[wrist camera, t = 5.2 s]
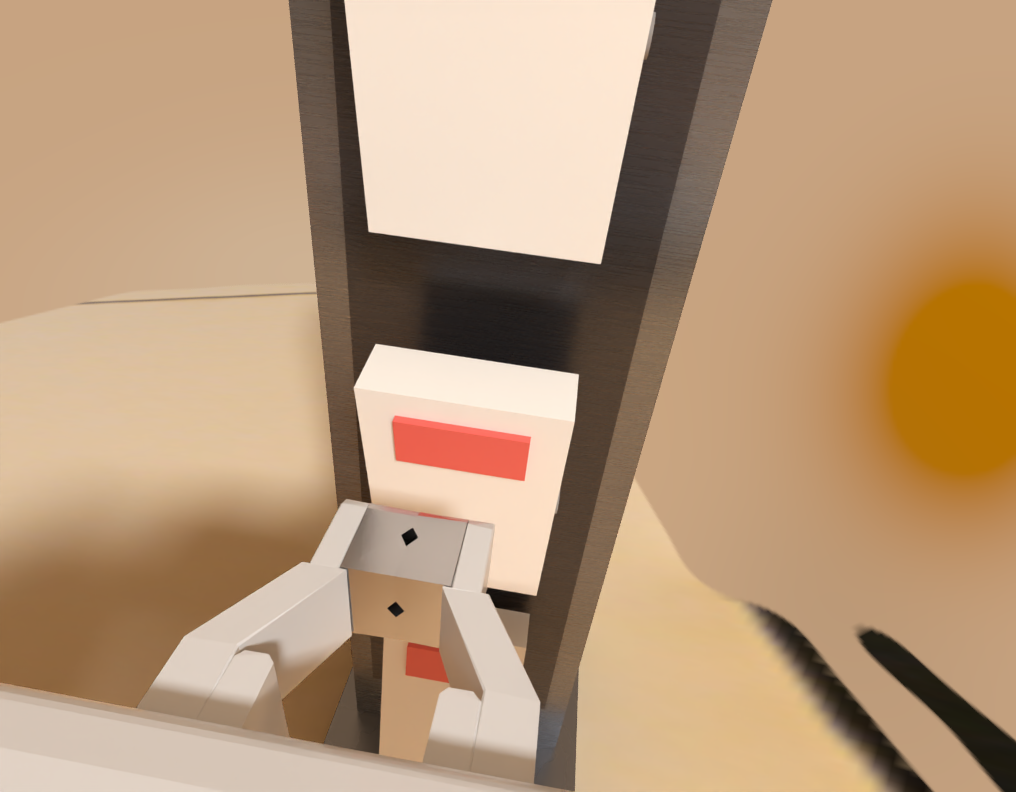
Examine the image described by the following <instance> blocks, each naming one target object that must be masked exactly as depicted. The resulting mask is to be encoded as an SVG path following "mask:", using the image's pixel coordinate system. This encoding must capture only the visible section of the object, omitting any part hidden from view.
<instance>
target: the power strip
mask: <svg viewBox="0 0 1016 792" xmlns="http://www.w3.org/2000/svg"><path fill="white" fill-rule="evenodd" d="M771 3H772V0H656V2H655V6H654V11H653V12H656V17H655V24H654V30H653V35H652V40H651V45H650V49H649V53H648V57H647V59H646V60H643V64H642V69H641V74H640V79H639V83H638V88H637V93H636V98H635V103H634V107H633V112H632V117H631V122H630V127H629V131H628V136H627V141H626V146H625V151H624V155H623V160H622V165H621V170H620V175H619V179H618V184H617V189H616V194H615V199H614V203H613V208H612V213H611V218H610V223H609V227H608V232H607V237H606V242H605V247H604V251H603V256H602V261H601V264H595V263H588V262H581V261H574V260H567V259H560V258H552V257H545V256H538V255H531V254H524V253H517V252H509V251H502V250H495V249H488V248H481V247H474V246H466V245H459V244H452V243H445V242H438V241H431V240H423V239H416V238H409V237H402V236H395V235H388V234H380V233H373V232H369V230H368V220H367V211H366V201H365V192H364V182H363V173H362V163H361V154H360V144H359V135H358V125H357V116H356V106H355V97H354V87H353V78H352V68H351V59H350V49H349V40H348V30H347V21H346V11H345V2H344V0H289V7H290V18H291V28H292V39H293V48H294V59H295V70H296V80H297V90H298V100H299V111H300V122H301V132H302V142H303V153H304V163H305V173H306V184H307V193H308V204H309V215H310V225H311V235H312V246H313V256H314V267H315V277H316V287H317V298H318V308H319V318H320V329H321V339H322V349H323V360H324V370H325V380H326V391H327V401H328V411H329V422H330V432H331V443H332V453H333V463H334V474H335V484H336V494H337V505H338V508H339V506H340V505H341V504H342V503H343V502H344V501H345V500H346V499H350V500H355V501H360V502H365V503H372V501H371V495H370V488H369V482H368V475H367V469H366V463H365V456H364V450H363V444H362V437H361V431H360V425H359V418H358V412H357V405H356V399H355V393H354V386H355V384H356V382H357V380H358V378H359V376H360V374H361V372H362V370H363V368H364V366H365V364H366V362H367V360H368V358H369V356H370V354H371V352H372V350H373V348H374V346H375V344H380V345H387V346H393V347H400V348H407V349H413V350H420V351H427V352H433V353H440V354H447V355H453V356H460V357H466V358H473V359H480V360H486V361H493V362H500V363H506V364H513V365H520V366H526V367H533V368H539V369H546V370H553V371H559V372H566V373H573V374H579V379H578V390H577V402H576V413H575V423H574V427H573V432H572V437H571V441H570V446H569V450H568V455H567V459H566V464H565V468H564V473H563V477H562V482H561V487H560V498H559V505H558V510H557V514H556V513H555V514H554V518H553V523H552V527H551V532H550V537H549V541H548V546H547V550H546V555H545V559H544V564H543V568H542V573H541V577H540V582H539V587H538V591H537V596H534V595H529V594H523V593H517V592H511V591H505V590H500V589H494V588H488V587H487V591H486V594H489V595H490V597H491V600H492V602H493V604H494V606H495V608H499V609H505V610H511V611H517V612H522V613H528V614H530V618H529V627H528V637H527V646H526V653H525V658H524V664H523V667H524V669H525V671H526V673H527V675H528V677H529V679H530V681H531V684H532V686H533V688H534V690H535V692H536V694H537V696H538V698H539V700H540V713H539V725H538V738H537V750H536V762H535V774H534V784H537V785H542V786H548V787H553V788H558V789H563V790H569V791H574V792H575V763H576V731H577V700H578V668H579V664H580V661H581V657H582V654H583V651H584V647H585V644H586V640H587V637H588V633H589V630H590V626H591V623H592V620H593V616H594V613H595V609H596V606H597V602H598V599H599V595H600V592H601V589H602V585H603V582H604V578H605V575H606V571H607V568H608V564H609V561H610V558H611V554H612V551H613V547H614V544H615V540H616V537H617V534H618V530H619V527H620V523H621V520H622V516H623V513H624V509H625V506H626V503H627V499H628V496H629V492H630V489H631V485H632V482H633V478H634V475H635V472H636V468H637V465H638V461H639V458H640V454H641V451H642V447H643V444H644V441H645V437H646V433H647V430H648V427H649V423H650V419H651V416H652V413H653V409H654V406H655V403H656V399H657V396H658V392H659V389H660V385H661V382H662V378H663V375H664V372H665V368H666V365H667V361H668V358H669V354H670V351H671V347H672V344H673V341H674V337H675V334H676V330H677V327H678V323H679V320H680V317H681V313H682V310H683V306H684V303H685V299H686V296H687V292H688V289H689V286H690V282H691V279H692V275H693V272H694V268H695V265H696V261H697V258H698V255H699V251H700V248H701V244H702V241H703V237H704V234H705V230H706V227H707V224H708V220H709V217H710V213H711V210H712V206H713V203H714V199H715V196H716V192H717V189H718V186H719V182H720V179H721V175H722V172H723V168H724V165H725V161H726V158H727V154H728V151H729V148H730V144H731V141H732V137H733V134H734V130H735V127H736V124H737V120H738V117H739V113H740V110H741V106H742V103H743V100H744V96H745V92H746V89H747V86H748V82H749V79H750V75H751V71H752V69H753V65H754V62H755V58H756V55H757V51H758V48H759V44H760V41H761V38H762V34H763V31H764V27H765V23H766V20H767V17H768V13H769V10H770V7H771ZM350 639H351V650H352V660H353V667H352V670H351V672H350V675H349V678H348V680H347V683H346V686H345V688H344V691H343V694H342V696H341V699H340V701H339V704H338V707H337V709H336V712H335V715H334V717H333V720H332V723H331V725H330V728H329V730H328V733H327V736H326V738H325V741H324V744H327V745H332V746H338V747H343V748H348V749H353V750H359V751H364V752H369V753H374V754H379V745H380V720H381V695H382V670H383V645H384V637H378V636H371V635H364V634H358V633H352V636H351V637H350Z"/></svg>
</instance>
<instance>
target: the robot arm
mask: <svg viewBox="0 0 1016 792" xmlns="http://www.w3.org/2000/svg"><path fill="white" fill-rule="evenodd" d="M494 532H495V524H492V523H486V522H479V521H473V520H470V521H469V520H468V519H461V518H455V517H448V516H442V515H436V514H429V513H423V512H420V513H419V512H414V511H409V510H404V509H399V508H393V507H388V506H383V505H378V504H373V503H365V502H360V501H355V500H350V499H346V500H345V501H344V502H343V503H342V504H341V505H340V506H339V508H338V510H337V512H336V514H335V516H334V518H333V520H332V522H331V523H330V525H329V527H328V529H327V531H326V533H325V535H324V537H323V538H322V540H321V542H320V544H319V546H318V548H317V550H316V552H315V554H314V555H313V557H312V559H311V561H310V563H307V562H301V563H299V564H298V565H296V566H295V567H293V568H291V569H290V570H288V571H287V572H285V573H283V574H282V575H280V576H279V577H277V578H276V579H274V580H272V581H271V582H269V583H268V584H266V585H264V586H263V587H261V588H260V589H258V590H257V591H255V592H253V593H252V594H250V595H249V596H247V597H245V598H244V599H242V600H241V601H239V602H238V603H236V604H234V605H233V606H231V607H230V608H228V609H226V610H225V611H223V612H222V613H220V614H219V615H217V616H215V617H214V618H212V619H211V620H209V621H207V622H206V623H204V624H203V625H201V626H200V627H198V628H196V629H195V630H193V631H192V632H190V633H188V634H187V635H185V636H184V637H183V639H182V640H181V642H180V643H179V645H178V646H177V648H176V649H175V651H174V652H173V654H172V655H171V657H170V658H169V660H168V661H167V663H166V664H165V666H164V667H163V669H162V670H161V671H160V673H159V674H158V676H157V677H156V679H155V680H154V682H153V683H152V685H151V686H150V688H149V689H148V691H147V692H146V694H145V695H144V697H143V698H142V700H141V701H140V703H139V704H138V706H137V707H136V708H132V707H127V706H121V705H116V704H111V703H106V702H100V701H95V700H90V699H85V698H79V697H74V696H69V695H64V694H58V693H53V692H48V691H43V690H37V689H32V688H27V687H22V686H16V685H11V684H6V683H1V682H0V792H574V791H569V790H563V789H558V788H553V787H548V786H542V785H537V784H534V774H535V762H536V750H537V738H538V725H539V713H540V700H539V698H538V696H537V694H536V692H535V690H534V688H533V686H532V684H531V681H530V679H529V677H528V675H527V673H526V671H525V669H524V667H523V665H522V663H521V660H520V658H519V656H518V654H517V652H516V650H515V648H514V646H513V644H512V642H511V639H510V637H509V635H508V633H507V631H506V629H505V627H504V625H503V623H502V621H501V618H500V616H499V614H498V612H497V610H496V608H495V606H494V604H493V602H492V600H491V597H490V595H489V594H486V591H487V584H488V577H489V570H490V563H491V555H492V548H493V540H494ZM352 633H358V634H364V635H371V636H378V637H384V638H391V639H397V640H402V641H407V642H411V643H416V644H421V645H426V646H431V647H435V648H439V652H440V655H441V658H442V662H443V665H444V668H445V671H446V675H447V678H448V681H449V684H450V687H451V688H450V687H448V688H447V689H445V690H444V691H442V692H441V693H440V694H439V698H438V702H437V706H436V710H435V714H434V718H433V722H432V726H431V730H430V734H429V738H428V742H427V746H426V750H425V754H424V758H423V762H422V763H421V762H416V761H411V760H406V759H400V758H395V757H390V756H385V755H380V754H374V753H369V752H364V751H359V750H353V749H348V748H343V747H338V746H332V745H327V744H322V743H317V742H311V741H306V740H301V739H296V738H290V736H289V732H288V727H287V722H286V718H285V713H284V708H283V704H282V699H283V698H284V697H285V696H287V695H288V694H289V693H290V692H291V691H292V690H293V689H294V688H295V687H296V686H297V685H299V684H300V683H301V682H302V681H303V680H304V679H305V678H306V677H307V676H308V675H309V674H311V673H312V672H313V671H314V670H315V669H316V668H317V667H318V666H319V665H320V664H321V663H322V662H324V661H325V660H326V659H327V658H328V657H329V656H330V655H331V654H332V653H333V652H334V651H336V650H337V649H338V648H339V647H340V646H341V645H342V644H343V643H344V642H345V641H346V640H348V639H349V638H350V637H351V636H352Z"/></svg>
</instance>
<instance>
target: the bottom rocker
mask: <svg viewBox="0 0 1016 792" xmlns="http://www.w3.org/2000/svg"><path fill="white" fill-rule="evenodd" d="M496 610H497V612H498V614H499V616H500V618H501V621H502V623H503V625H504V627H505V629H506V631H507V633H508V635H509V637H510V639H511V642H512V644H513V646H514V648H515V650H516V652H517V654H518V656H519V658H520V660H521V663H522V665H523V664H524V658H525V653H526V646H527V637H528V627H529V618H530V614H528V613H522V612H517V611H511V610H505V609H499V608H496ZM448 687H450V684H449V681H448V678H447V675H446V671H445V668H444V665H443V662H442V658H441V655H440V652H439V648H435V647H431V646H426V645H421V644H416V643H411V642H407V641H402V640H397V639H391V638H384V645H383V670H382V695H381V720H380V745H379V754H380V755H385V756H390V757H395V758H400V759H406V760H411V761H416V762H421V763H422V762H423V758H424V754H425V750H426V746H427V742H428V738H429V734H430V730H431V726H432V722H433V718H434V714H435V710H436V706H437V702H438V698H439V694H440V693H441V692H442V691H444V690H445V689H447V688H448ZM450 688H451V687H450Z"/></svg>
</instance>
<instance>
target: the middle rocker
mask: <svg viewBox="0 0 1016 792" xmlns="http://www.w3.org/2000/svg"><path fill="white" fill-rule="evenodd" d="M578 379H579V374H573V373H566V372H559V371H553V370H546V369H539V368H533V367H526V366H520V365H513V364H506V363H500V362H493V361H486V360H480V359H473V358H466V357H460V356H453V355H447V354H440V353H433V352H427V351H420V350H413V349H407V348H400V347H393V346H387V345H380V344H375V346H374V348H373V350H372V352H371V354H370V356H369V358H368V360H367V362H366V364H365V366H364V368H363V370H362V372H361V374H360V376H359V378H358V380H357V382H356V384H355V386H354V393H355V399H356V405H357V412H358V418H359V425H360V431H361V437H362V444H363V450H364V456H365V463H366V469H367V475H368V482H369V488H370V495H371V501H372V503H373V504H378V505H383V506H388V507H393V508H399V509H404V510H409V511H414V512H419V513H420V512H423V513H429V514H436V515H442V516H448V517H455V518H461V519H468V520H469V521H470V520H473V521H479V522H486V523H492V524H495V532H494V540H493V548H492V555H491V563H490V570H489V577H488V584H487V587H488V588H494V589H500V590H505V591H511V592H517V593H523V594H529V595H534V596H537V591H538V587H539V582H540V577H541V573H542V568H543V564H544V559H545V555H546V550H547V546H548V541H549V537H550V532H551V527H552V523H553V518H554V514H555V513H556V514H557V510H558V505H559V498H560V487H561V482H562V477H563V473H564V468H565V464H566V459H567V455H568V450H569V446H570V441H571V437H572V432H573V427H574V423H575V413H576V402H577V390H578Z"/></svg>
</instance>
